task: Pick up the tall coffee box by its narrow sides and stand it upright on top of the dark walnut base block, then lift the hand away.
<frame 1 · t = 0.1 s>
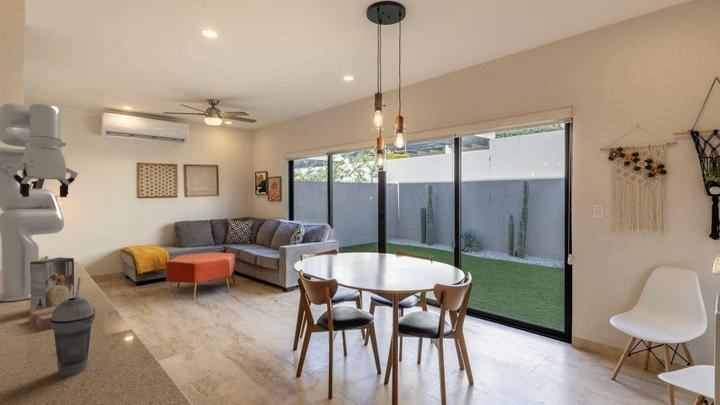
hand: (45, 197, 112), 36 cm above the countertop, tool pointing down, fingers open, 9 cm apart
coffee box: (52, 309, 114), on the countertop
walnut base: (62, 319, 104), on the countertop
beverage cup: (72, 371, 75), on the countertop
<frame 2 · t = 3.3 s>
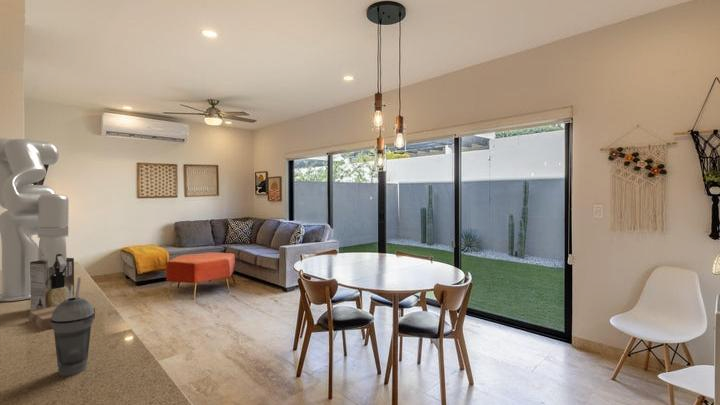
hand: (53, 285, 114), 7 cm above the countertop, tool pointing down, fingers closed on coffee box, 8 cm apart
coffee box: (52, 309, 114), on the countertop, touching gripper
everything else where it was.
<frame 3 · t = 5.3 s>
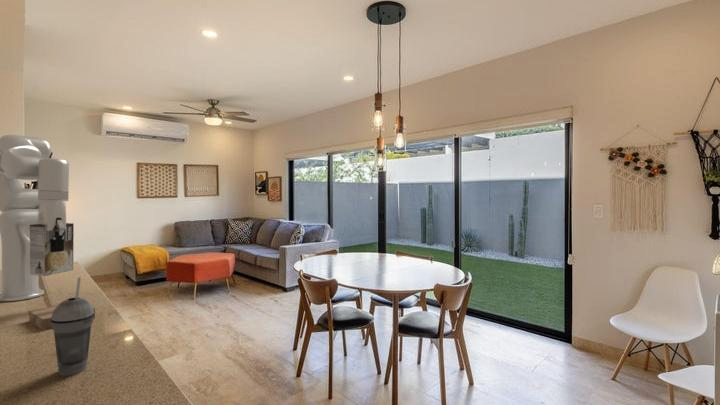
hand: (52, 249, 114), 19 cm above the countertop, tool pointing down, fingers closed on coffee box, 8 cm apart
coffee box: (51, 273, 114), point 11 cm above the countertop, touching gripper
everything else where it was.
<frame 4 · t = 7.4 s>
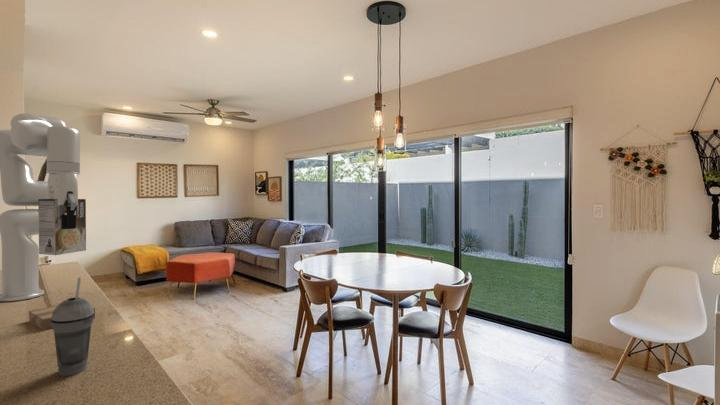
hand: (63, 227, 104), 28 cm above the countertop, tool pointing down, fingers closed on coffee box, 8 cm apart
coffee box: (62, 253, 104), point 20 cm above the countertop, touching gripper
everything else where it was.
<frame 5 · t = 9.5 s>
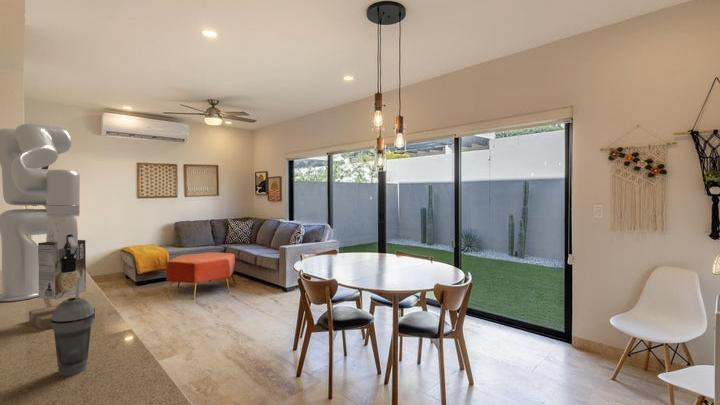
hand: (62, 269, 104), 15 cm above the countertop, tool pointing down, fingers closed on coffee box, 8 cm apart
coffee box: (62, 295, 104), point 7 cm above the countertop, touching gripper
everything else where it was.
when the fingers open (12 cm above the countertop, at t = 11.3 s): coffee box drops 1 cm, resting on walnut base.
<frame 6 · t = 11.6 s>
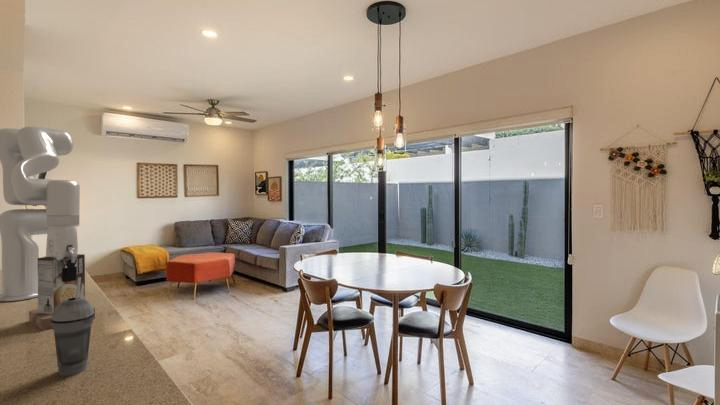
hand: (62, 278, 104), 12 cm above the countertop, tool pointing down, fingers open, 9 cm apart
coffee box: (62, 310, 104), point 3 cm above the countertop, touching walnut base
everything else where it was.
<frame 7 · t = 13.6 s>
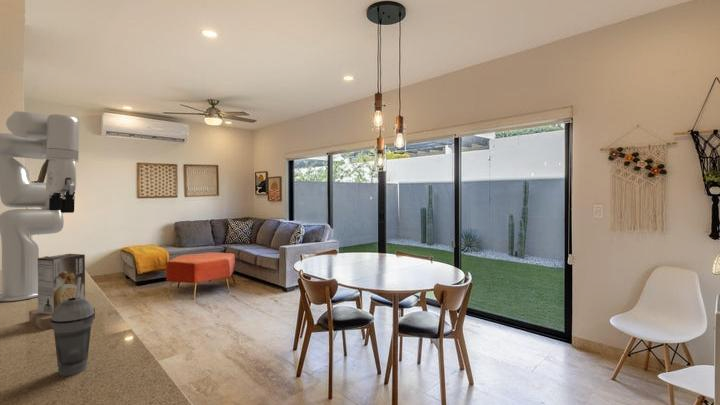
hand: (61, 211, 108), 32 cm above the countertop, tool pointing down, fingers open, 9 cm apart
nothing on the countertop moved.
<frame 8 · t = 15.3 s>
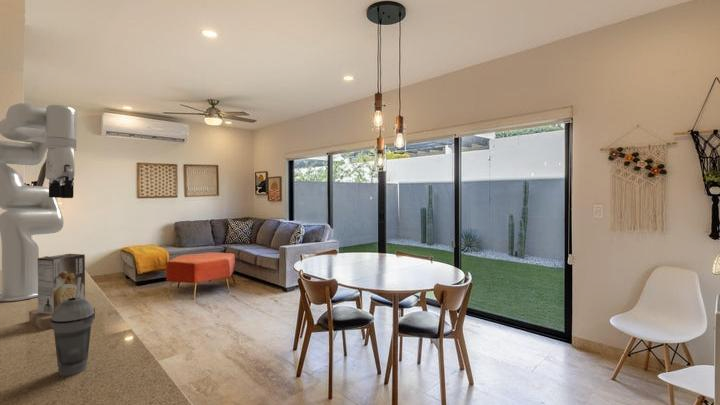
hand: (60, 197, 112), 36 cm above the countertop, tool pointing down, fingers open, 9 cm apart
nothing on the countertop moved.
at the end: coffee box inside the target area on the walnut base (0.4 cm from its centre), point 2.8 cm above the walnut base's base; coffee box tilted 0°; the gripper is holding nothing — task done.
